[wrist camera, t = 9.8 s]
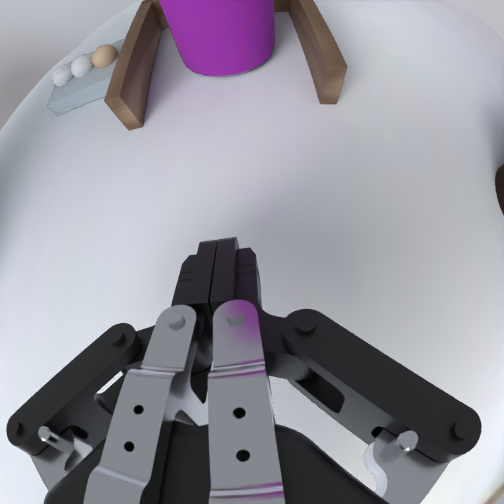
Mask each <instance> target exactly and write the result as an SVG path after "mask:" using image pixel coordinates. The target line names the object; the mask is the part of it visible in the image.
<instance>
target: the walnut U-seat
mask: <svg viewBox="0 0 504 504" xmlns="http://www.w3.org/2000/svg"><path fill="white" fill-rule="evenodd" d="M285 11H289V14H290V16H291V19H292V21H293V24H294V26H295V29H296V32H297V34H298V37H299V40H300V42H301V45H302V48H303V51H304V54H305V57H306V60H307V63H308V66H309V69H310V72H311V75H312V78H313V81H314V85H315V88H316V91H317V95H318V98H319V102H320V104H336V103H337V100H338V96H339V93H340V90H341V86H342V83H343V79H344V76H345V73H346V69H347V65H346V63H345V61H344V58H343V56H342V54H341V52H340V50H339V48H338V46H337V44H336V42H335V40H334V38H333V36H332V34H331V32H330V30H329V28H328V26H327V24H326V22H325V20H324V19H323V17H322V15H321V13H320V12H319V10H318V8H317V6H316V5H315V3H314V1H313V0H274V12H285ZM167 27H169V25H168V22H167V20H166V17H165V15H164V12H163V9H162V7H161V4H160V2H159V0H145V1H142V3H141V5H140V7H139V9H138V11H137V13H136V15H135V18H134V20H133V22H132V24H131V26H130V29H129V31H128V33H127V36H126V38H125V41H124V43H123V46H122V48H121V51H120V53H119V56H118V59H117V62H116V65H115V67H114V70H113V73H112V76H111V80H110V83H109V86H108V89H107V93H106V96H105V100H104V102H105V103H106V104H107V105H108V106H109V108H110V109H111V110H112V111H113V112H114V114H115V115H116V116H117V117H118V118H119V120H120V121H121V122H122V123H123V124H124V126H125V127H126V128H127V129H128V130H132V129H136V128H140V127H143V120H144V113H145V107H146V101H147V95H148V89H149V84H150V79H151V74H152V69H153V65H154V60H155V56H156V52H157V48H158V44H159V40H160V36H161V32H162V29H164V28H167Z"/></svg>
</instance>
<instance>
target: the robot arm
mask: <svg viewBox="0 0 504 504" xmlns="http://www.w3.org/2000/svg"><path fill="white" fill-rule="evenodd" d="M120 371H121V372H122V373H123V375H122V376H121V377H120V378H119V379H118V380H117V381H116V382H115V383H113V384H112V385H111V386H110V387H109V388H108V389H107V390H106V391H105V392H103V393H100V394H97V392H98V391H99V390H100V389H101V388H102V387H103V386H104V385H105V384H106V383H107V382H109V381H110V380H111V379H112V378H113V377H114V376H115V375H116V374H117V373H119V372H120ZM269 376H274V377H279V378H284V379H287V380H288V381H289V382H290V383H291V384H292V385H293V386H294V387H295V388H296V389H298V390H299V391H300V392H301V393H302V394H304V395H305V396H306V397H307V398H308V399H310V400H311V401H312V402H313V403H315V404H316V405H317V406H318V407H319V408H321V409H322V410H323V411H324V412H326V413H327V414H328V415H330V416H331V417H332V418H333V419H335V420H336V421H337V422H339V423H340V424H341V425H343V426H344V427H345V428H346V429H348V430H349V431H350V432H352V433H353V434H354V435H356V436H357V437H359V438H360V439H361V440H363V441H364V442H365V443H367V444H368V447H367V449H366V451H365V454H364V463H365V466H366V468H367V469H368V470H369V471H370V472H371V473H372V474H373V476H374V477H375V480H376V484H377V485H376V492H373V491H372V490H371V489H369V488H368V487H367V486H365V485H364V484H363V483H361V482H360V481H359V480H358V479H356V478H355V477H354V476H352V475H351V474H350V473H349V472H347V471H346V470H345V469H344V468H343V467H341V466H340V465H339V464H338V463H337V462H335V461H334V460H333V459H332V458H331V457H329V456H328V455H327V454H326V453H325V452H324V451H323V450H321V449H320V448H319V447H318V446H317V445H316V444H315V443H314V442H313V441H311V440H310V439H309V438H308V437H306V436H305V435H303V434H302V433H300V432H298V431H296V430H294V429H291V428H288V427H286V426H282V425H278V424H277V423H276V417H275V411H274V405H273V400H272V393H271V387H270V380H269ZM480 435H481V421H480V418H479V416H478V414H477V413H476V412H475V411H474V410H473V409H472V408H470V407H468V406H467V405H465V404H464V403H462V402H460V401H459V400H457V399H455V398H454V397H452V396H451V395H449V394H447V393H446V392H444V391H443V390H441V389H439V388H438V387H436V386H435V385H433V384H431V383H430V382H428V381H427V380H425V379H423V378H422V377H420V376H419V375H417V374H415V373H414V372H412V371H411V370H409V369H407V368H406V367H404V366H403V365H401V364H400V363H398V362H396V361H395V360H393V359H392V358H390V357H389V356H387V355H385V354H384V353H382V352H381V351H379V350H378V349H376V348H374V347H373V346H371V345H370V344H368V343H367V342H365V341H364V340H362V339H360V338H359V337H357V336H356V335H354V334H353V333H351V332H350V331H348V330H347V329H345V328H343V327H342V326H340V325H339V324H337V323H336V322H334V321H333V320H331V319H330V318H328V317H327V316H325V315H323V314H322V313H320V312H318V311H316V310H312V309H301V310H297V311H294V312H292V313H291V314H289V315H288V316H287V317H286V318H283V317H277V316H273V315H270V314H268V313H266V312H265V311H264V310H263V309H262V301H261V286H260V278H259V272H258V265H257V259H256V254H255V253H254V252H253V251H252V249H251V248H243V249H239V245H238V241H237V238H236V237H233V238H225V239H219V240H211V241H204V242H200V243H199V247H198V252H197V255H189V256H188V258H187V259H186V260H185V261H184V263H183V264H182V267H181V271H180V274H179V278H178V282H177V285H176V289H175V293H174V297H173V301H172V304H171V307H170V308H168V309H166V310H165V311H163V312H162V313H161V314H160V316H159V317H158V319H157V322H156V325H154V326H152V327H149V328H146V329H143V330H139V331H135V329H134V328H133V327H132V326H131V325H130V324H127V323H120V324H116V325H114V326H112V327H111V328H109V329H108V330H107V331H106V332H104V333H103V334H102V335H101V336H100V337H99V338H97V339H96V340H95V341H94V342H93V343H92V344H90V345H89V346H88V347H87V348H86V349H85V350H84V351H82V352H81V353H80V354H79V355H78V356H77V357H75V358H74V359H73V360H72V361H71V362H70V363H69V364H68V365H66V366H65V367H64V368H63V369H62V370H61V371H60V372H59V373H57V374H56V375H55V376H54V377H53V378H52V379H51V380H50V381H48V382H47V383H46V384H45V385H44V386H43V387H42V388H41V389H40V390H39V391H38V392H36V393H35V394H34V395H33V396H32V397H31V398H30V399H29V400H28V401H27V402H26V403H25V404H23V405H22V406H21V407H20V408H19V409H18V410H17V411H16V412H15V413H14V414H13V415H12V416H11V417H10V419H9V421H8V423H7V437H8V440H9V441H10V443H11V444H13V445H14V446H16V447H18V448H19V449H21V450H23V451H25V452H27V453H28V454H29V455H30V456H31V458H32V461H33V463H34V465H35V467H36V469H37V471H38V473H39V475H40V477H41V478H42V480H43V482H44V484H45V486H46V487H47V489H48V491H49V492H48V493H47V495H46V497H45V499H44V504H420V503H421V501H422V500H423V499H424V498H425V496H426V495H427V494H428V493H429V491H430V490H431V488H432V487H433V486H434V484H435V483H436V482H437V480H438V479H439V477H440V476H441V474H442V473H443V471H444V470H445V468H446V467H447V465H448V464H449V463H450V461H452V460H453V459H455V458H457V457H459V456H461V455H463V454H465V453H467V452H469V451H470V450H471V449H472V448H473V447H474V446H475V445H476V444H477V442H478V440H479V438H480Z"/></svg>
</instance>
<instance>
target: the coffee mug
mask: <svg viewBox="0 0 504 504" xmlns="http://www.w3.org/2000/svg"><path fill="white" fill-rule="evenodd" d="M495 186H496V193H497V198H498V202H499V205H500V208H501V210H502V213H503V215H504V164H503V165H502V166H501V167H500V168H499V169H498V171H497V173H496V178H495Z"/></svg>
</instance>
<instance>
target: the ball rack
mask: <svg viewBox="0 0 504 504" xmlns="http://www.w3.org/2000/svg"><path fill="white" fill-rule="evenodd" d="M124 41H125V39H123V40H120V41H118V42H115V43H112V44H110V45H109V44H106V45H102V46H100V47H98V48H97V49H96V50H95V51H93V52H91V53H89V54H83V55H80V56H78V57H77V58H76V59H75V60H74V61H73V62H71V63H69V64H64V65H61V66H59V67H58V68H57V69H56V70H55V71H54V73H53V76H52V81H53V83H54V85H55V87H54V90H53V92H52V95H51V97H50V99H49V102H48V105H47V107H48V108H49V109H50V110H51V111H52V112H54V113H55V114H56V115H57V116H59V115H62V114H64V113H66V112H68V111H70V110H73V109H75V108H77V107H79V106H82V105H84V104H87V103H89V102H92V101H94V100H97V99H99V98H102V97H105V96H106V93H107V89H108V86H109V83H110V80H111V76H112V73H113V70H114V67H115V65H116V62H117V59H118V56H119V53H120V51H121V48H122V46H123V43H124Z"/></svg>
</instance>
